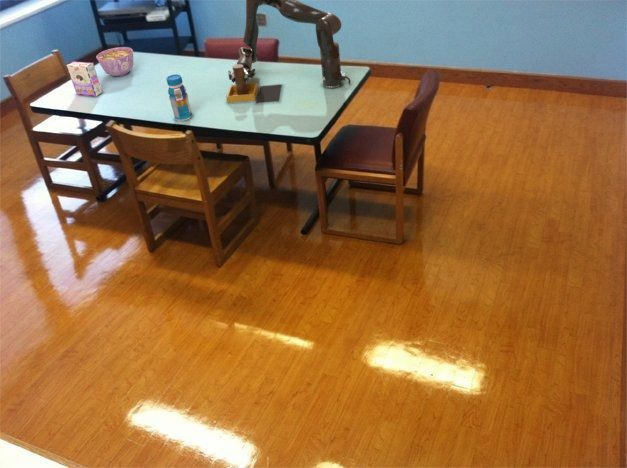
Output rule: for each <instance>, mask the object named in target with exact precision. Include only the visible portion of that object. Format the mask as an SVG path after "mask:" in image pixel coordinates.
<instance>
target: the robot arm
mask: <svg viewBox="0 0 627 468" xmlns="http://www.w3.org/2000/svg"><path fill="white" fill-rule="evenodd" d="M261 6H270V7H272V8H275V9H276V10H277V11H278V13H280V15H281V16H283V17H284V18H286V19H288V20H290V21H292V22H295V23H299V24H311V25H315V34H316V35H315V36H316V42H317V46H318V48H319V55H320V65H321V66H320V67H321V80H322V86H323V88H325V89H326V88H327V89H335V88H339V87H343V82H344V81H345V82H346V79H347V80H348V84H351V79H350V77H348V76H347V75H346V73H345V72H342V66H341V54H340V53H341V52H340V44H339V43H338V42H337V41H334V37H333V36H335V35H336V34H337V33H338V32H339V31H341V29H342V21H341V19H340V18H339V17H338V16H337V15H336V14H334V13H331V12H328V11H325V10H321V9H318V8H316V7H313V6H310V5H308V4H306V3H303V2H301V1H299V0H245V28H244V33H243V40H242V41H243V44H244V45H245V46H248V47H249V48H248V47H245V46H241V47H240V48H238V50H237V59H238V60H237V61H236V64H242V65H243V67H244V73H245V77H244V80H245V82H246V83H247V81H249V79H253V78H254V77H255V75H257V72H256V68H253V64H255V63H256V62H257V61H258V59H259V53H258V38H259V32H260V28H259V22H258V18H257V14H258V10H259V7H261ZM227 73H228V79H229V80H230V81H231V82H232V83H233V84H235V78H234V73H233V71H231V70H228V71H227Z"/></svg>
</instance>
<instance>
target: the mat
mask: <svg viewBox="0 0 627 468" xmlns="http://www.w3.org/2000/svg"><path fill="white" fill-rule="evenodd" d="M282 86H283V84H273V85H272V84H271V85H261V86H260V87H259V88H258V92H257V96H256V100H255V103H256V104H262V103H275V102H279V101H280V97H281V91H282Z"/></svg>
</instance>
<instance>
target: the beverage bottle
mask: <svg viewBox="0 0 627 468" xmlns="http://www.w3.org/2000/svg"><path fill="white" fill-rule="evenodd" d="M182 77H183V76H182V75H181V74H178V73H177V74H170V75H168V76H167V77H166V83H167V85H168V90H167V93H168V98H169V101H170V106H171V109H172V113H173V117H174V119H175V121H178V122H184V121H187V120H190V119H191V118H192V117H193V113H192V108H191V105H190V101H189V95H188V93H187V88H186V86H185V85H184V84H183V78H182Z"/></svg>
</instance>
